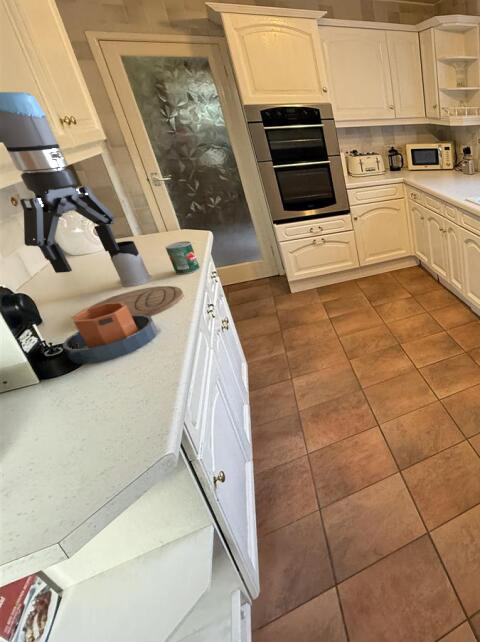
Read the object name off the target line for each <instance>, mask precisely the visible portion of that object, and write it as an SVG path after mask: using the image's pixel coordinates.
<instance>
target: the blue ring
mask: <svg viewBox="0 0 480 642" xmlns="http://www.w3.org/2000/svg"><path fill="white" fill-rule="evenodd" d="M131 316H132V318H133V320H134V322H135V324H136V327H137V329H138V332H136V333H135V334H133V335H131V336H128V337H126V338H124V339H121V340H119V341H115V342H112V343H109V344H106V345H102V346H97V347H93V348H88V347H87V348H84V347H85V346H87V345H86V343H85V341H84V339H83V337H82V336H81V334H80V332H79V330H77V331H76V332H75V333H73V334H72V335H70V336H69V337H67V338H66V339H65V341H63V343H62V348H63V350H64V351H65V353H66V352H67V353H68V354H69V355H70V356H71V357H72V358H73V359H71V358H69V361H70V362H73V364H77V365H80V364H81V365H88V364H96V363H102V362H105V361H110V360H115V359H118V358H119V357H123V356H125V355H128V354H130V353H133V352H135V351H138V350H140V349H141V348H143V347H145V346H146V345H148V344H149V343H151V342H152V341H153V340H154V339H155V338H157V336H158V333H159V331H158V329H157V327H156V325H155V323H154V320H153V318H152V316H147V315H131ZM139 329H140V330H139ZM69 344H78V345H79V349H72V348H70V347H69V346H70V345H69ZM67 353H66V354H67Z"/></svg>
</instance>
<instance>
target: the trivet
mask: <svg viewBox="0 0 480 642" xmlns="http://www.w3.org/2000/svg"><path fill="white" fill-rule="evenodd" d="M183 298H185V294H184V292H183V290H182V289H181V288H180V287H178V286H170V285H160V286H152V287H145V288H140V289H135V290H130V291H128V292H127V291H126V292H123V293H120V294H117V295H114V296H111V297H109V298H106V299H104V300H100V301H98V302H97V303H95V304H93V305H91V306H89V307H88V308H91V307H94V306H98V305H101V304H105V303H114V302H124V304H125V305H126V306H127V308H128V310H129V312H130V314H131V315H147V316H150V317H152V316H155V315H158V314H160V313H162V312H164V311H166V310H169V309H171V308H172V307H174V306H175V305H177V304H179V303H180V302H181V301H182V300H183Z"/></svg>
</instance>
